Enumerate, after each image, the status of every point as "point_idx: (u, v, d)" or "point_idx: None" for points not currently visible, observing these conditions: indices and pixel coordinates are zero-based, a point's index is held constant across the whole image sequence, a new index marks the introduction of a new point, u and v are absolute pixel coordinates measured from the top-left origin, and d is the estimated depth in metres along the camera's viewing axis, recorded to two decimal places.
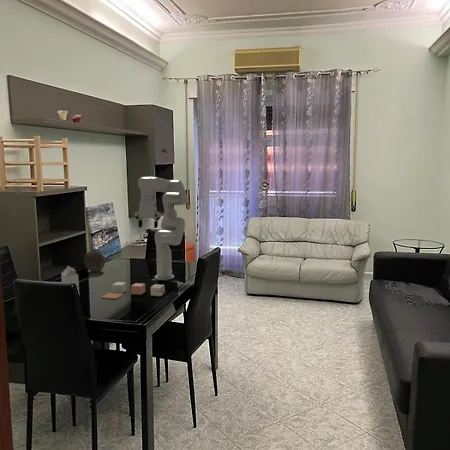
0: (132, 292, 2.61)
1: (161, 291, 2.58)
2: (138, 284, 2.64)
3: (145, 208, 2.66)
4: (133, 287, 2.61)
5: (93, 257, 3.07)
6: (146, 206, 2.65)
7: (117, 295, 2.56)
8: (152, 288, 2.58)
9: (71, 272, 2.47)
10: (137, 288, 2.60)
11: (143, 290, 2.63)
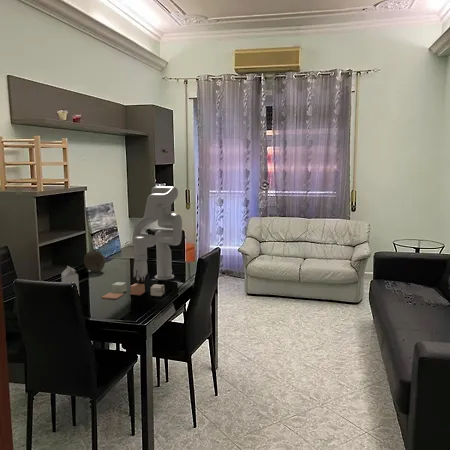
0: (131, 292, 2.60)
1: (161, 291, 2.58)
2: (137, 284, 2.63)
3: (144, 267, 2.65)
4: (132, 287, 2.60)
5: (93, 257, 3.07)
6: (145, 264, 2.66)
7: (117, 295, 2.56)
8: (152, 288, 2.58)
9: (71, 272, 2.47)
10: (136, 288, 2.59)
11: (142, 290, 2.62)
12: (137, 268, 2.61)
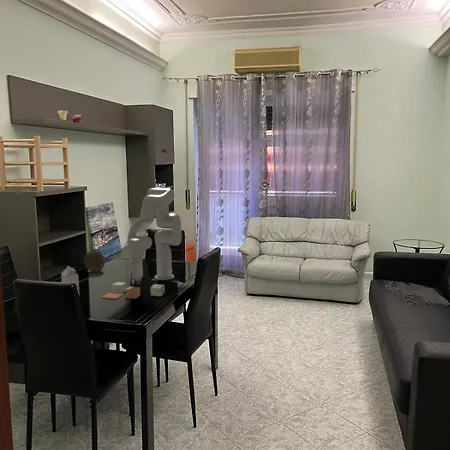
0: (126, 296, 2.54)
1: (161, 291, 2.58)
2: (133, 287, 2.57)
3: (139, 269, 2.59)
4: (127, 290, 2.54)
5: (93, 257, 3.07)
6: (140, 267, 2.59)
7: (117, 295, 2.56)
8: (152, 288, 2.58)
9: (71, 272, 2.46)
10: (131, 292, 2.53)
11: (138, 294, 2.56)
12: (132, 271, 2.55)
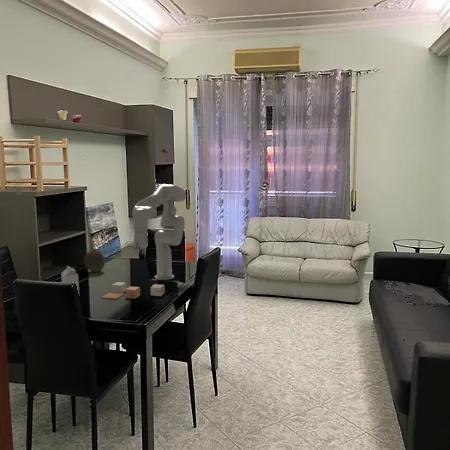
0: (126, 296, 2.54)
1: (161, 291, 2.58)
2: (133, 287, 2.57)
3: (144, 239, 2.64)
4: (127, 291, 2.53)
5: (93, 257, 3.07)
6: (145, 236, 2.65)
7: (117, 295, 2.56)
8: (152, 288, 2.58)
9: (71, 272, 2.46)
10: (131, 292, 2.53)
11: (138, 294, 2.56)
12: (137, 240, 2.60)
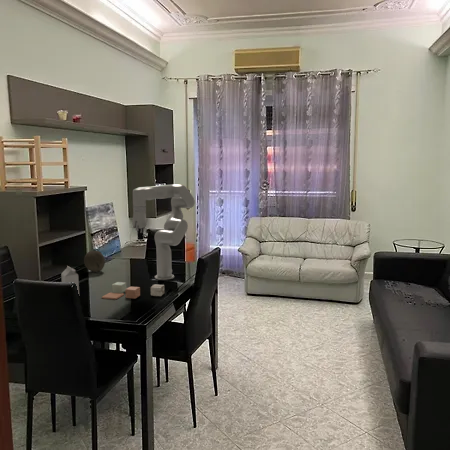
0: (126, 296, 2.54)
1: (161, 291, 2.58)
2: (133, 287, 2.57)
3: (143, 218, 2.71)
4: (127, 291, 2.54)
5: (93, 257, 3.07)
6: (144, 216, 2.72)
7: (117, 295, 2.56)
8: (152, 288, 2.58)
9: (71, 272, 2.47)
10: (131, 292, 2.53)
11: (138, 294, 2.56)
12: (136, 219, 2.67)
